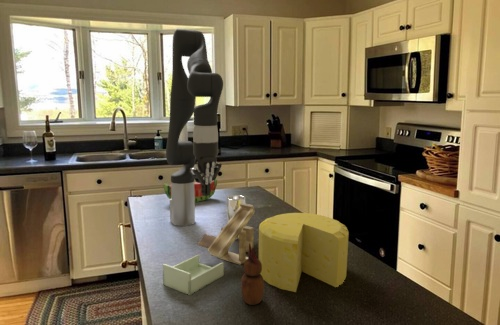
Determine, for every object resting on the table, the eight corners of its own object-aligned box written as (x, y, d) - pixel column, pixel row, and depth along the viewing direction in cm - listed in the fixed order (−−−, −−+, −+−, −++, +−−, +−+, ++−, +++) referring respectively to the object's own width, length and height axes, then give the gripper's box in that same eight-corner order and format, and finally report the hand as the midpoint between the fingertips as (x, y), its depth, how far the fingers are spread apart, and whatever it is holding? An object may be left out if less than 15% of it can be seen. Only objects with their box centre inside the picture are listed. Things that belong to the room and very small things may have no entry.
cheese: (326, 302, 102) (329, 247, 100) (241, 277, 116) (241, 228, 113) (357, 266, 124) (360, 219, 122) (282, 248, 138) (283, 206, 135)
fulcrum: (238, 246, 138) (238, 219, 137) (260, 253, 133) (261, 224, 131) (217, 257, 129) (217, 228, 127) (240, 264, 124) (240, 234, 122)
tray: (163, 284, 111) (162, 264, 110) (198, 266, 122) (197, 248, 121) (189, 295, 105) (189, 274, 104) (223, 275, 117) (223, 256, 116)
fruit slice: (212, 196, 203) (212, 177, 201) (218, 199, 198) (218, 179, 196) (163, 204, 189) (162, 183, 187) (168, 207, 184) (167, 186, 182)
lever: (229, 206, 138) (225, 199, 136) (255, 212, 132) (253, 205, 130) (195, 250, 126) (191, 242, 124) (223, 258, 120) (219, 251, 118)
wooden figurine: (240, 294, 106) (240, 241, 103) (261, 294, 106) (262, 240, 104) (241, 308, 99) (242, 251, 97) (265, 307, 100) (266, 250, 97)
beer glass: (243, 241, 144) (243, 200, 141) (224, 239, 145) (224, 199, 142) (247, 234, 150) (247, 195, 148) (229, 232, 152) (229, 194, 149)
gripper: (210, 137, 129) (210, 189, 132) (181, 141, 118) (182, 197, 121) (228, 139, 124) (228, 193, 128) (200, 143, 114) (200, 202, 117)
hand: (206, 195), depth 124 cm, fingers closed
